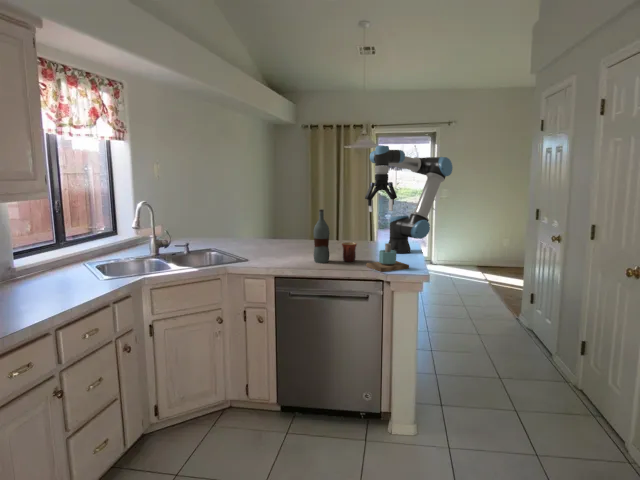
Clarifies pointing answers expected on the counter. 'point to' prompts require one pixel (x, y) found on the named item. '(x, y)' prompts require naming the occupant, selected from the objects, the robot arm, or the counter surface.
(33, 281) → the counter surface
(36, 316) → the counter surface
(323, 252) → the bottle
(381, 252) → the ring
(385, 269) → the post block
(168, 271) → the counter surface
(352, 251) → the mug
